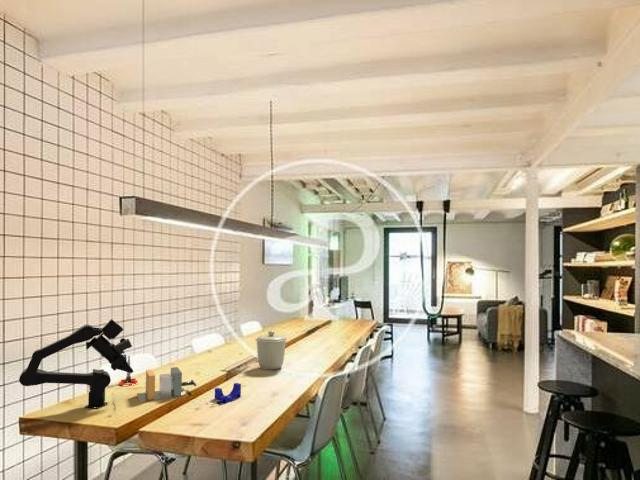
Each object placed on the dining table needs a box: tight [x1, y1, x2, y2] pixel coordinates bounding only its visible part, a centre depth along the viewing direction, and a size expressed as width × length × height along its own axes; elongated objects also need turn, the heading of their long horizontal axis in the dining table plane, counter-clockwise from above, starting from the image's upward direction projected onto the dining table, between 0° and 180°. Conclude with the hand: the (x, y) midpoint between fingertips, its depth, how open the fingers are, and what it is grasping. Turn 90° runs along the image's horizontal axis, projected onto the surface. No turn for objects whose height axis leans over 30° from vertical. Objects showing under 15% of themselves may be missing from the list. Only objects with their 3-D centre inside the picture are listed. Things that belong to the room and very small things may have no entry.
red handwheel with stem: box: [118, 355, 139, 386], centre depth 218 cm, size 8×13×9 cm
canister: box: [255, 330, 288, 371], centre depth 254 cm, size 18×18×21 cm
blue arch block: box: [214, 382, 242, 405], centre depth 193 cm, size 12×4×6 cm, turn 141°
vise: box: [136, 366, 197, 402], centre depth 196 cm, size 24×13×12 cm, turn 117°
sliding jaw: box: [145, 369, 156, 401], centre depth 193 cm, size 2×12×10 cm, turn 27°
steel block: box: [158, 373, 171, 397], centre depth 196 cm, size 4×7×8 cm, turn 27°
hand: (132, 371), depth 190 cm, fingers closed
